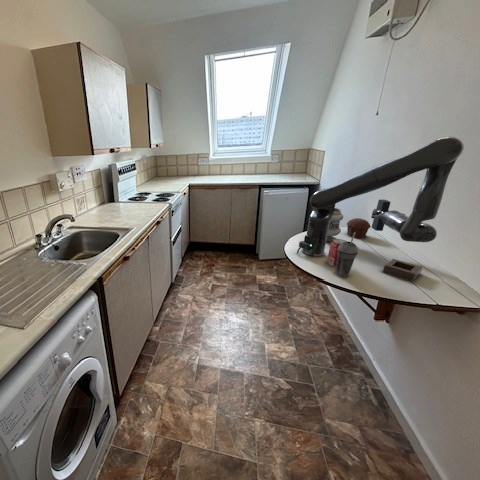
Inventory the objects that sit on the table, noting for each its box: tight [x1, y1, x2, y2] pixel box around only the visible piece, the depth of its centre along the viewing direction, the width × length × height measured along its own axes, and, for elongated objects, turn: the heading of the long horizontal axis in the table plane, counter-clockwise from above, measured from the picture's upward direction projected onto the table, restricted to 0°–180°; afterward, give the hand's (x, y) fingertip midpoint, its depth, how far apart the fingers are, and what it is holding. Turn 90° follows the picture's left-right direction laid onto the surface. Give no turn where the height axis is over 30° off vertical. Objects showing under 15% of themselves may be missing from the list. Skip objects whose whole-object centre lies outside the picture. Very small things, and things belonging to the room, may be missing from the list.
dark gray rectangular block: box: [370, 199, 391, 232], centre depth 134 cm, size 3×5×15 cm, turn 164°
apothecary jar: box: [326, 207, 344, 243], centre depth 152 cm, size 12×12×18 cm
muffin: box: [346, 217, 372, 239], centre depth 156 cm, size 12×11×10 cm
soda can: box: [326, 238, 348, 268], centre depth 124 cm, size 7×7×12 cm
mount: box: [382, 258, 423, 282], centre depth 116 cm, size 10×10×4 cm
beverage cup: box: [335, 232, 359, 278], centre depth 113 cm, size 7×7×20 cm
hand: (378, 210), depth 136 cm, fingers closed on dark gray rectangular block, 3 cm apart
